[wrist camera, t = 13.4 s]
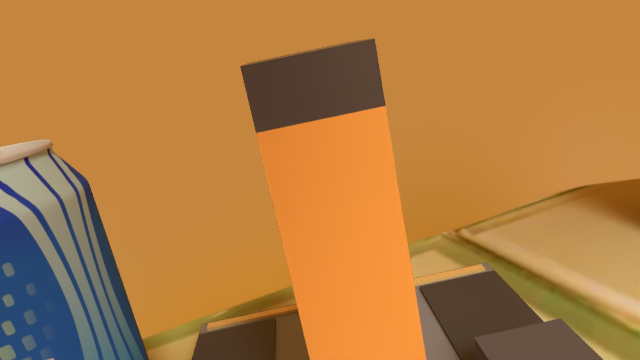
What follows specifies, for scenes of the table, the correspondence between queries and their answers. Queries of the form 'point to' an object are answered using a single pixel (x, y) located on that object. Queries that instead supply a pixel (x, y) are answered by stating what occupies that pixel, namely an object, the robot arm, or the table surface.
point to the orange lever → (337, 200)
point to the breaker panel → (436, 323)
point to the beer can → (57, 265)
